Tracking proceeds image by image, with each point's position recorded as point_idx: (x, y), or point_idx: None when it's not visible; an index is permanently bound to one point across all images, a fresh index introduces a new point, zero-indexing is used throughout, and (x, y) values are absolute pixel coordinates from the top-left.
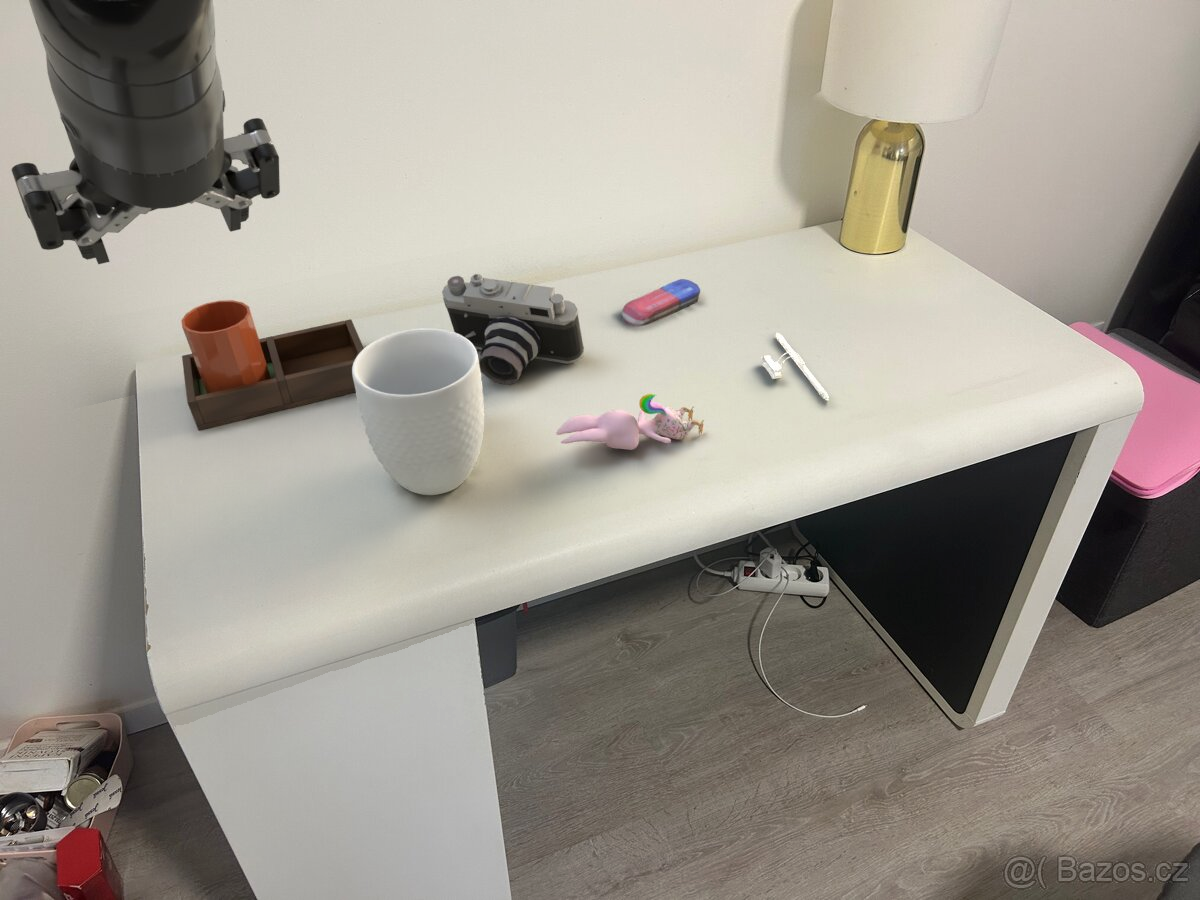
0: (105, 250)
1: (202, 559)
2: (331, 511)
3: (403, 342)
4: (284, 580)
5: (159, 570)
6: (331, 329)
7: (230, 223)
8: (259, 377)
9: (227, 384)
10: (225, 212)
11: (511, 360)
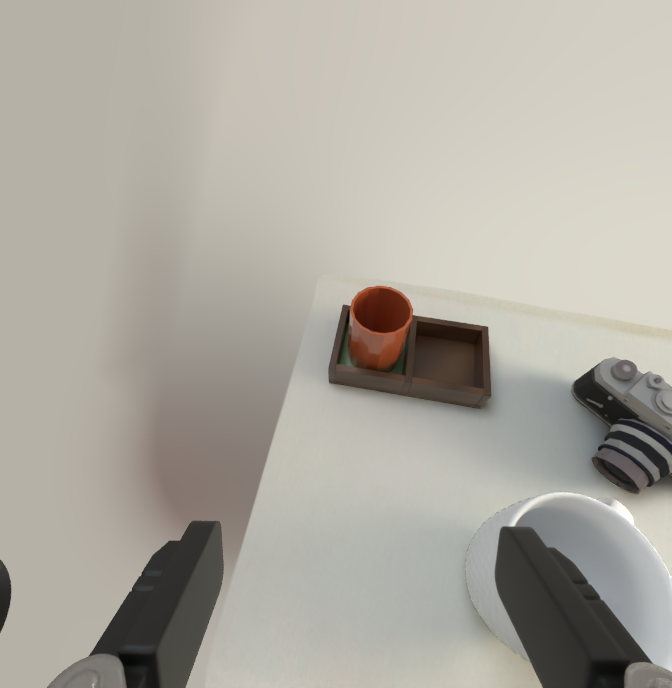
0: (193, 662)
1: (278, 561)
2: (397, 569)
3: (569, 502)
4: (329, 649)
5: (244, 551)
6: (467, 330)
7: (519, 635)
8: (391, 363)
9: (364, 362)
10: (523, 608)
11: (641, 485)
